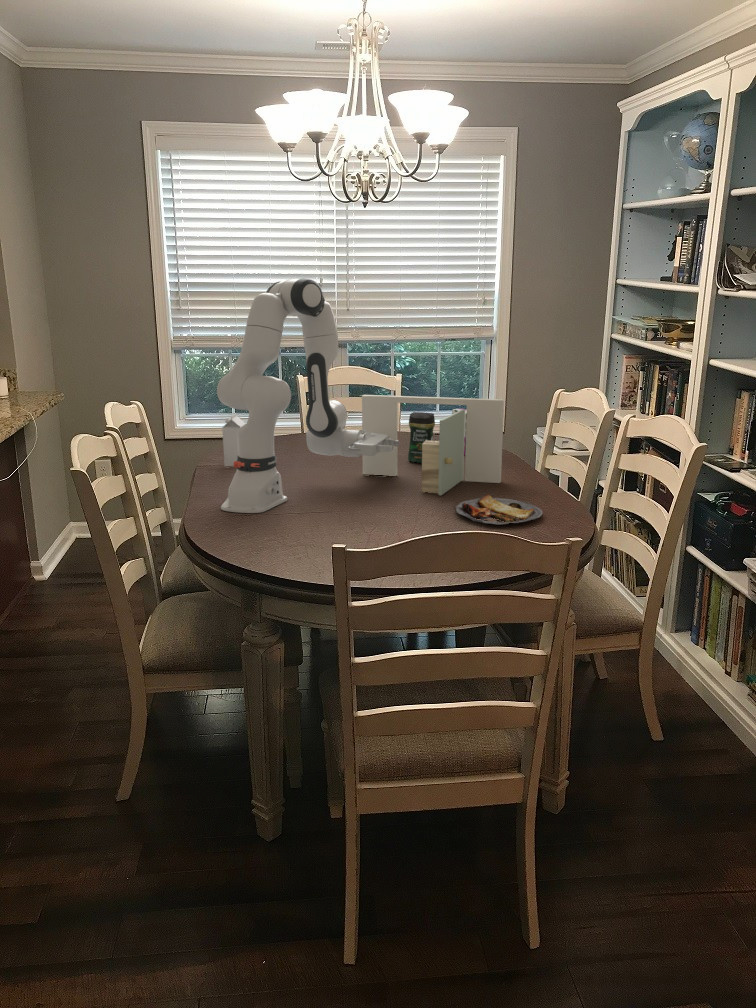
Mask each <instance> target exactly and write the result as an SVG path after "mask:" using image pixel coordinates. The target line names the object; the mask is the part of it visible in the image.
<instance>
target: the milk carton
mask: <svg viewBox="0 0 756 1008" xmlns="http://www.w3.org/2000/svg"><path fill="white" fill-rule="evenodd" d="M224 421H225V424H224V425H223V426H222V443H223V444H222V445H223V446H222V447H223V461H224V462H223V463H224V464H223V465H224V467H225V466H234V465H233V463H234V461H237V456H238V455H239V454H238V436H237V434H238V431H239V429H240V428H241V427H242V426H243V425H245V424H246V423H247V422H244V420H242V419H241V418H240V417H239V416H238V415H237V412H235V413H234V414H232V415H231V416H230V417H228V418H227V419H225V420H224Z"/></svg>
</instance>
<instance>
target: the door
mask: <svg viewBox="0 0 756 1008" xmlns="http://www.w3.org/2000/svg"><path fill="white" fill-rule="evenodd" d="M461 409H462V410H460V411H458V412H456V413H454V414H450V415H447V416H446V417H443V418H441V419H439V430H438V431H439V437H438V438H439V439H438V441H439V489H438V493H437V494H438V496H442V495H444V494H445V493H446V492H448V491H449V490H451V489H452V488H454V487H455V486H456V485H458V484H459V483H460V482H462V481H463V480H464V471H465V456H464V455H465V454H464V431H465V410H466V409H465V408H461Z"/></svg>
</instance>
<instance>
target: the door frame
mask: <svg viewBox="0 0 756 1008" xmlns="http://www.w3.org/2000/svg"><path fill="white" fill-rule="evenodd" d="M398 404H422V405H451V406H453V405H454V406H466V410H467V416H466V454H464V455H465V456H464V481H465V482H472V483H474V482H476V483H477V482H478V483H493V484H494V483H495V484H501V481H502V459H503V439H504V438H503V437H504V435H503V431H504V411H505V409H504V408H505V399H499V398H498V399H497V398H475V397H473V398H472V397H471V398H469V397H466V398H465V397H444V396H443V397H442V396H437V397H436V396H413V395H411V396H410V395H408V396H407V395H385V394H384V395H380V394H379V395H378V394H375V395H374V394H362V395H361V424H362V425H361V426H362V427H361V430H366V433H367V432H371V433H379V434H385V435H388V439H392V440H398ZM363 474H374V475H389V476H396V475H397V476H398V446H393V450H392V451H391V452H387V451H386V452H378V453H377V454H375V455H374V456H366V455H362V475H363Z"/></svg>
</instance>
